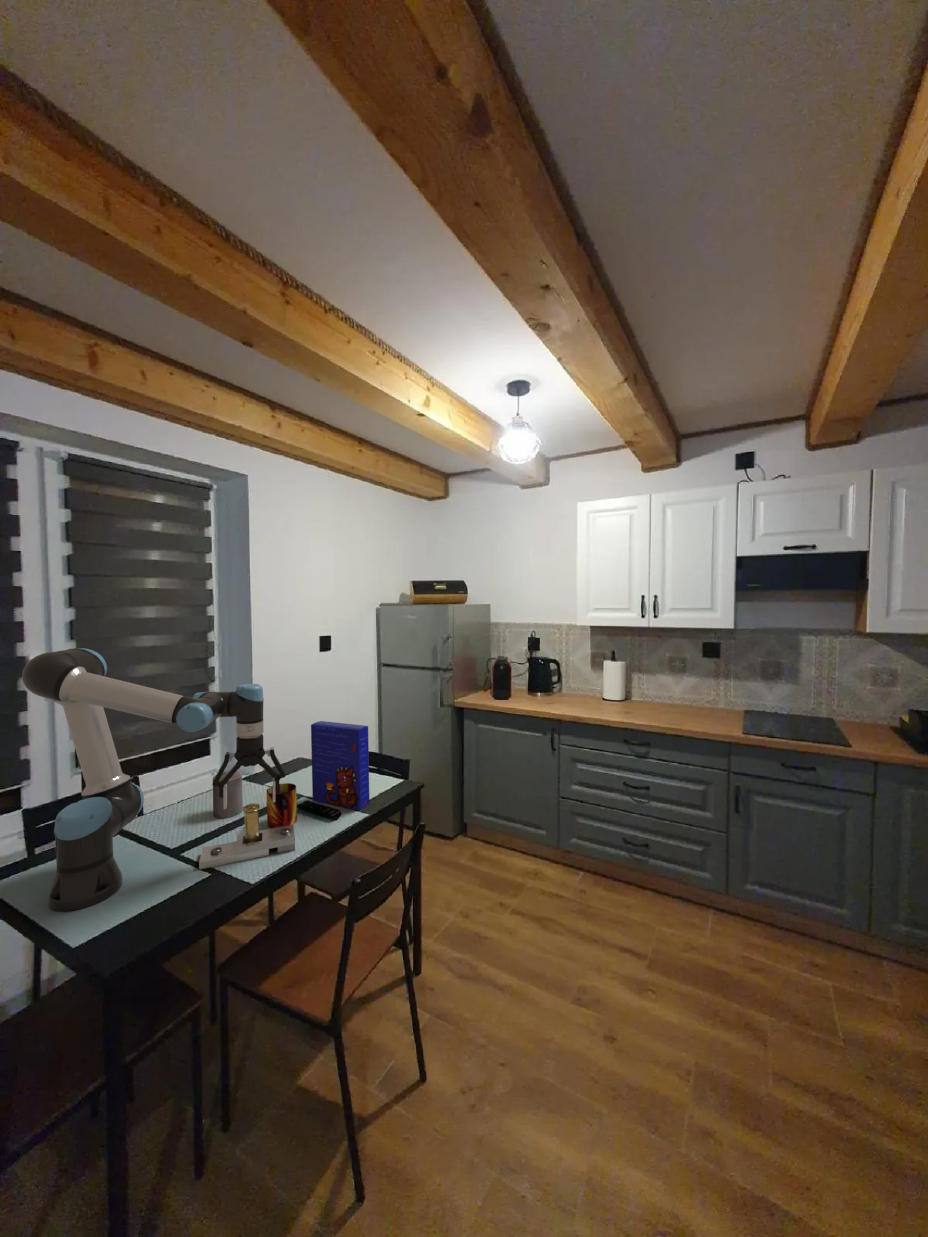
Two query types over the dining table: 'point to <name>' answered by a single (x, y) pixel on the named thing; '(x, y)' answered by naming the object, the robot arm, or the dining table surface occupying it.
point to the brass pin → (251, 823)
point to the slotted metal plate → (248, 847)
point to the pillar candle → (228, 797)
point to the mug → (282, 806)
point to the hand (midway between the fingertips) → (250, 804)
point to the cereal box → (340, 764)
